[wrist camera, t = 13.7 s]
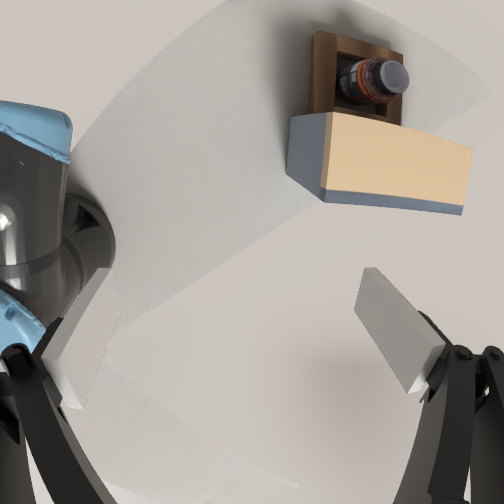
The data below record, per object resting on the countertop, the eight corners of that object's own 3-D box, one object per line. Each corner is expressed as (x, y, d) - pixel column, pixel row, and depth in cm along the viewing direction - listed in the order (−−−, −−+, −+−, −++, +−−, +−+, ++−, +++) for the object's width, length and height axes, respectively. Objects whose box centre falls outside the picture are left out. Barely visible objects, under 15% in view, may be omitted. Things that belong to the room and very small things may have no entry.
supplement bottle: (377, 96, 35) (424, 93, 25) (346, 111, 36) (388, 110, 26) (358, 61, 33) (401, 46, 22) (326, 75, 33) (363, 61, 23)
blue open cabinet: (285, 174, 39) (324, 202, 25) (290, 116, 36) (333, 111, 22) (395, 184, 41) (461, 215, 27) (401, 135, 38) (472, 148, 24)
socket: (307, 122, 36) (314, 122, 33) (312, 36, 31) (319, 30, 28) (388, 135, 38) (399, 137, 35) (392, 57, 32) (402, 54, 30)
